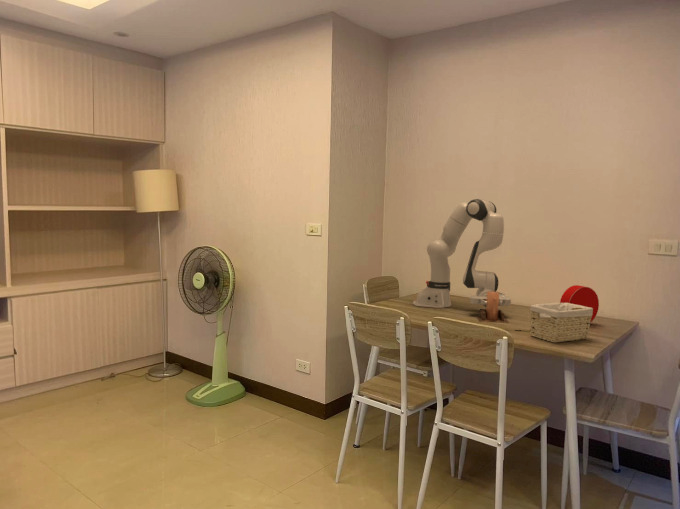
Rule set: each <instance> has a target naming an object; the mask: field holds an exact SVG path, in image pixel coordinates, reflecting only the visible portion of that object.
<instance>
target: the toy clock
mask: <svg viewBox="0 0 680 509" xmlns="http://www.w3.org/2000/svg"><path fill="white" fill-rule="evenodd" d="M559 303H570V304H575V305H581V306H585V307H590V308H593V315H592V318H591V321H590V324H591V323H592V322H593V321H594V320H595V319H596V316H597V314H598V311H599V307H600V300H599V296H598V294H597V292H596V291H595V290H594V289H593V288H591V287H588V286H584V285H583V286H582V285H578V284H577V285H572V286H569V287H568V288H567V289H566V290H565V291H564V292H563V294H562V295H561V298H560V301H559Z"/></svg>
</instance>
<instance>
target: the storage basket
mask: <svg viewBox="0 0 680 509" xmlns="http://www.w3.org/2000/svg"><path fill="white" fill-rule="evenodd" d="M529 309H530V312H529V314H530V336H532V337H535V338H537V339H541V340H544V341H548V342H551V343H564V342H568V341H569V342H573V341H575V340H576V341H579V340H586V339H588V337H589V331H590V326H591V323H590V321H591V318H592V315H593V308H590V307H585V306H581V305H575V304H570V303H560V302H552V303H537V304H531V305H530V308H529Z"/></svg>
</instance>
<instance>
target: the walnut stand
mask: <svg viewBox="0 0 680 509" xmlns="http://www.w3.org/2000/svg"><path fill="white" fill-rule="evenodd" d="M474 317H475V318H476V320H477V321H478V322H479V323H498V324H500V323H501V324H511V323H510V321H509V320H508V319H506V317H505V312H503V311H502V310H501V309H498V320H487V319H486V308H479V315H474Z"/></svg>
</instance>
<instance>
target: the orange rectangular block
mask: <svg viewBox="0 0 680 509" xmlns="http://www.w3.org/2000/svg"><path fill="white" fill-rule="evenodd" d="M499 293H500V291H496V292H495V291H488V292H487V305H486V307H485V309H486V319H487V320H498V310H500V309H499V308H500V307H499Z"/></svg>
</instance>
